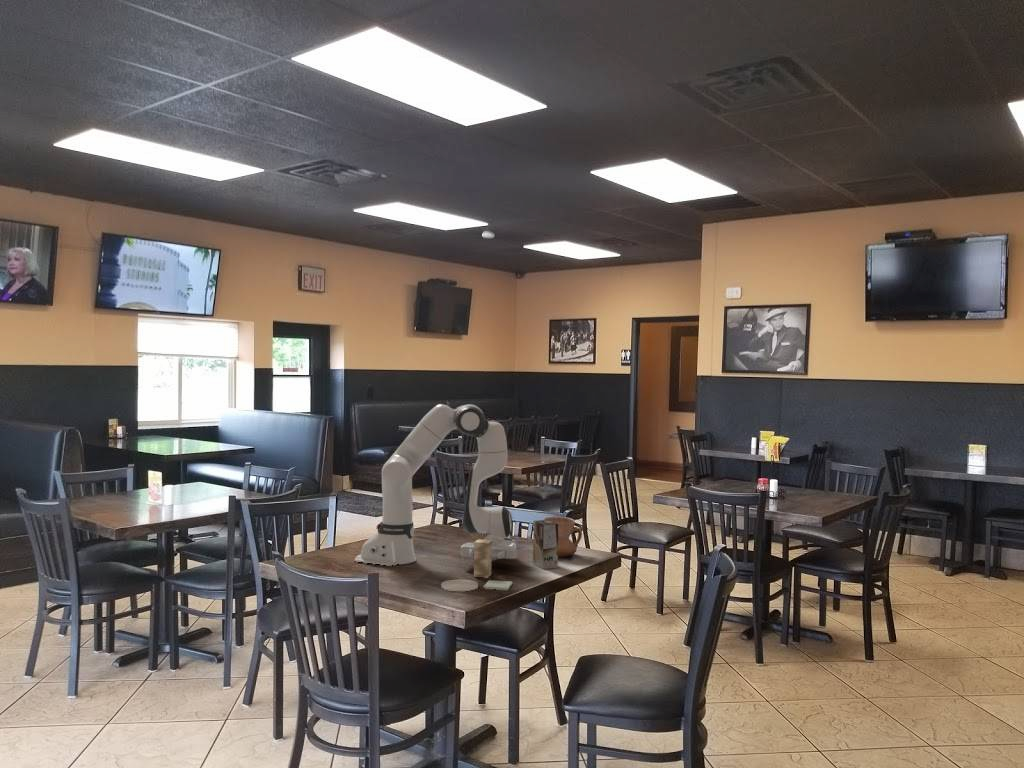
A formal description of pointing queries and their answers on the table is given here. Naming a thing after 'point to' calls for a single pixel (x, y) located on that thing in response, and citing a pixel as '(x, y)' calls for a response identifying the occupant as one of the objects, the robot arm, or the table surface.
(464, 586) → the cream saucer
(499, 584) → the sage coaster
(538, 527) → the coffee box
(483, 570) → the maple block
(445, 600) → the table surface
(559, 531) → the ceramic jug
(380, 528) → the robot arm
